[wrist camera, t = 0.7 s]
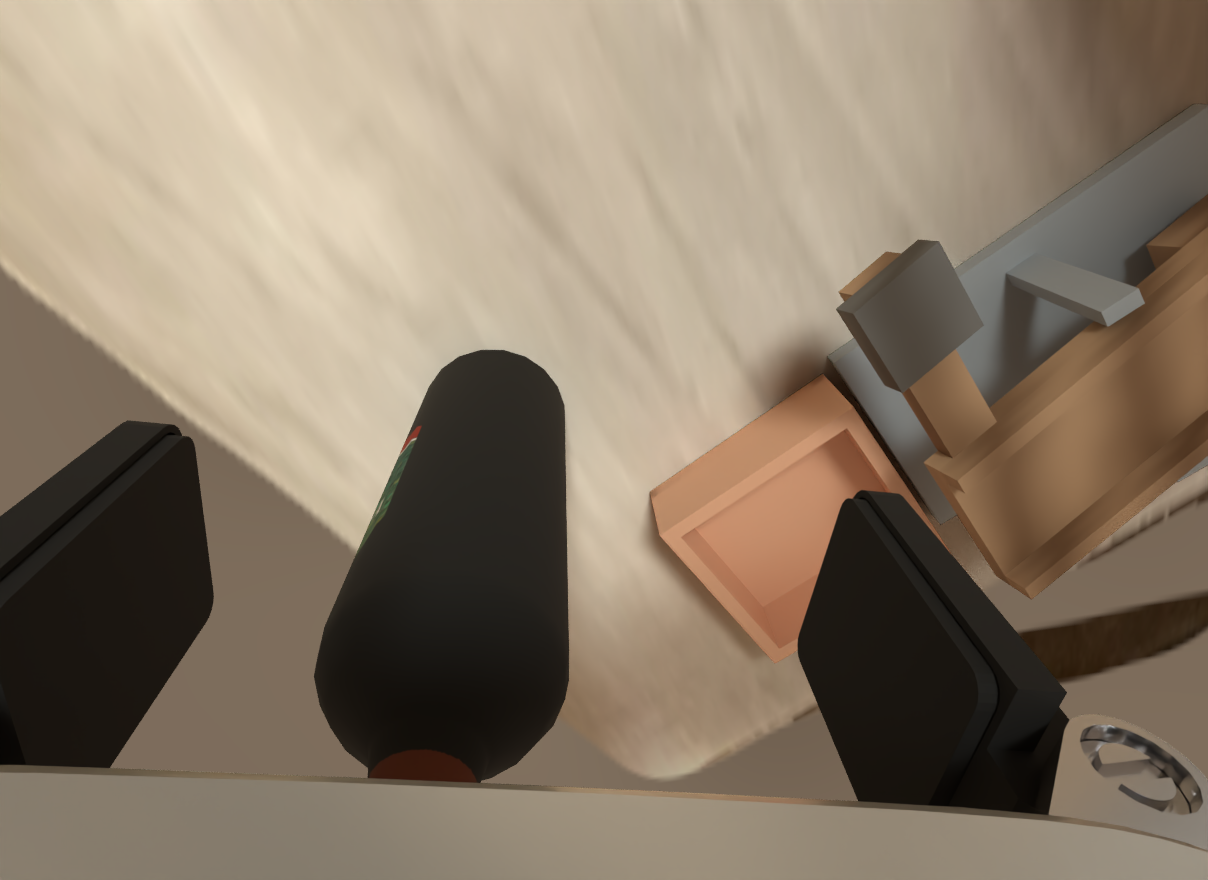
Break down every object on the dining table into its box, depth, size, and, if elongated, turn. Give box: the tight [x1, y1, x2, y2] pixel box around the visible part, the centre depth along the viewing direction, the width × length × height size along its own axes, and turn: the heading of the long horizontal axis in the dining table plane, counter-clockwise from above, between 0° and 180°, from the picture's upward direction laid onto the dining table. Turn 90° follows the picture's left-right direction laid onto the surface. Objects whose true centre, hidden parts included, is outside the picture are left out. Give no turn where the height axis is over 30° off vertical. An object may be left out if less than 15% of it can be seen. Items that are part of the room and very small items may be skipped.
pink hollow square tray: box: [650, 374, 953, 663], centre depth 40 cm, size 12×12×4 cm
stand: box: [827, 104, 1208, 524], centre depth 35 cm, size 20×13×8 cm, turn 128°
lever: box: [836, 194, 1208, 599], centre depth 31 cm, size 20×17×6 cm
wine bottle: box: [314, 350, 569, 783], centre depth 25 cm, size 8×8×30 cm
